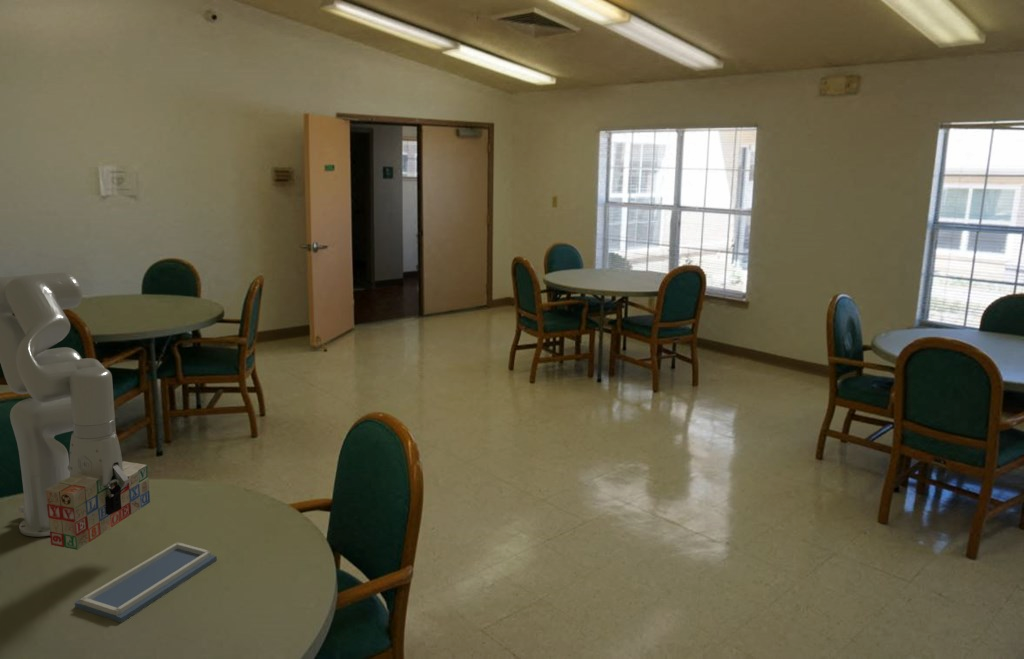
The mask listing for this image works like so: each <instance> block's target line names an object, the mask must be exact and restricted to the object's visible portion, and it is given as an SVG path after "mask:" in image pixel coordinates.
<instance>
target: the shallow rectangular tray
mask: <svg viewBox="0 0 1024 659" xmlns="http://www.w3.org/2000/svg"><path fill="white" fill-rule="evenodd" d="M216 561H217V556H216V555H213V554H212V550H207V549H204V548H200V547H196V546H193V545H191V544H186V543H183V542H178V541H177V542H175V543H173V544H171V545H170V546H167V547H166V548H165V549H163V550H162V551H160V552H158V553H156V554H154V555H153V556H151V557H149V558H148V559H146V560H144V561H143V562H141V563H138V564H137V565H136V566H134V567H133V568H130V569H128V570H127V571H126V572H123V573H122V574H120V575H119V576H117V577H115V578H114V579H112V580H110V581H108V582H107V583H104V585H102V586H99V587H98V588H96V589H95V590H93V591H91V592H90V593H88V594H86V595H84V596H82V597H81V598H79V600H77V601H75V602H74V607H75V608H76V609H79V610H82V611H85V612H88V613H91V614H94V615H97V616H100V617H104V618H106V619H109V620H112V621H114V622H118V623H124V622H125V621H126V620H128V619H129V618H130V619H131V617H132V616H134V615H136V614H138V612H140V611H142V610H144V609H145V608H147V607H148V606H149V605H151V604H152V603H154V602H155V601H157V600H159V599H160V598H161V597H163V596H165V595H166V594H167V593H169V592H170V591H172V590H174V589H175V588H176V587H178V586H180V585H181V584H182V583H184V582H186V581H187V580H189V579H190V578H192V577H194V576H196V574H198V573H200V572H201V571H203V570H204V569H206V568H207V567H208V566H210V565H212V564H213V563H215V562H216Z"/></svg>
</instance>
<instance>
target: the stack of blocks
mask: <svg viewBox="0 0 1024 659" xmlns="http://www.w3.org/2000/svg"><path fill="white" fill-rule="evenodd" d="M122 465H123V472H124V474H125V475H126V476H127V477H128V479H129V481H130V482H129V483H128V484H127V486H126V487H125V488H124V489H123V492H121V493H120V494H121V509H120V510H118V511H116V512H114V513H112V514H110V515H108V514H107V513H106V499H105V497H107V496H108V495H107V493H106V491H105V486H103V487H101V486H99V479H96V478H93V477H89V476H86V475H82V474H79V473H76V474H74V475H72V476H71V475H70V477H69V478H67V479H65V480H63V481H61V482H59V483H57V484H55V485H53V486H51V487H49V488H48V489H46V494H47V502H48V504H47V510H48V517H49V526H50V544H51V546H54V547H60V548H66V549H71V550H77V551H78V550H79V549H81V548H83V547H84V546H86V545H87V544H89V543H91V542H92V541H94V540H95V539H97V538H98V537H100V536H101V535H103V534H105V533H107V531H109V530H110V529H111V530H112V528H113V527H114V526H117V524H119V523H120V522H122V521H124V520H125V519H127V518H128V517H129V516H131V515H133V514H135V513H136V512H138V511H139V510H140V509H142V508H144V507H145V506H147V505H148V504H149V503H150V502H151V498H150V494H151V493H150V479H149V470H148V465H147V464H143V463H138V462H132V461H131V462H129V461H125V460H122ZM112 479H113V477H112V478H111V480H112ZM110 486H111V489H113V488H114V487H115V486H114V484H113V483H111V484H110Z"/></svg>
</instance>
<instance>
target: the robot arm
mask: <svg viewBox="0 0 1024 659" xmlns="http://www.w3.org/2000/svg"><path fill="white" fill-rule="evenodd" d="M82 290H83V288H82V286H81V284H80V282H79V281H78V279H77V278H75V276H73V275H72V274H71V273H68V272H52V273H51V272H50V273H38V274H27V275H13V276H11V275H10V276H2V277H0V366H1V369H2V372H3V377H4V378H5V379H4V380H5V381H6V383H7V386H8V388H9V389H10V390H11V391H12V392H13V393H15V394H17V395H27V394H29V396H30V397H28V398H26V399H23V400H21V401H18V402H17V403H16V404H14V405H13V406H12V408H11V409H10V414H9V418H10V424H11V426H12V430H13V434H14V436H15V440H16V443H17V449H18V455H19V465H20V471H21V480H22V490H23V498H24V499H23V500H24V503H23V505H20V506H19V507H18V512H20V513H24V514H23V515H24V519H23V520H22V521H21V522H20V523H19V527H18V528H19V532H20V534H22V535H24V536H27V537H35V538H36V537H37V538H38V537H40V538H42V537H49V536H50V526H49V517H48V510H47V504H48V502H47V494H46V489H48V488H49V487H51V486H53V485H55V484H57V483H59V482H61V481H63V480H65V479H67V478H69V477H71V476H72V475H74V474H76V473H79V474H82V475H86V476H89V477H93V478H96V479H99V486H101V487H103V486H105V491H106V493H107V495H108V496H107V497H105V499H106V513H107V514H108V515H110V514H112V513H114V512H116V511H118V510H120V509H121V494H120V493H121V492H123V489H124V488H125V487H126V486H127V484H128V483H129V482H130V481H129V479H128V477H127V476H126V475H125V474H124V472H123V465H122V462H123V457H122V452H121V451H122V450H121V446H120V442H119V438H118V435H117V431H116V429H117V428H116V416H115V415H116V414H115V401H114V388H113V386H114V385H113V375H112V372H111V371H110V370H109V369H107V368H105V366H104V365H103V363H101V362H100V361H99V360H98V359H96V358H93V357H89V358H88V357H86V358H82V356H81V355H80V353H79V352H78V351H77V350H75V349H73V348H71V347H69V346H68V347H67V346H65V347H63V346H62V347H56V348H52V347H54V346H55V345H57V344H58V343H59V342H61V341H63V340H64V339H65V338H66V337H67V336H68V334H69V333H70V330H71V322H70V320H69V318H68V317H67V315H66V313H65V312H64V310H70V309H76V308H78V307H79V306H80V305H81V303H82V300H83V291H82ZM13 314H14V315H13ZM69 432H72V433H71V436H70V442H69V452H68V450H67V448H66V447H65V445H64V444H63V443H61V442H60V441H58V440H56V439H55V436H57V435H58V436H59V435H61V434H65V433H69ZM112 477H113V479H112V480H111V478H112ZM111 483H113V484H114V486H115V487H114V488H113V489H111V486H110V484H111Z"/></svg>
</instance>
